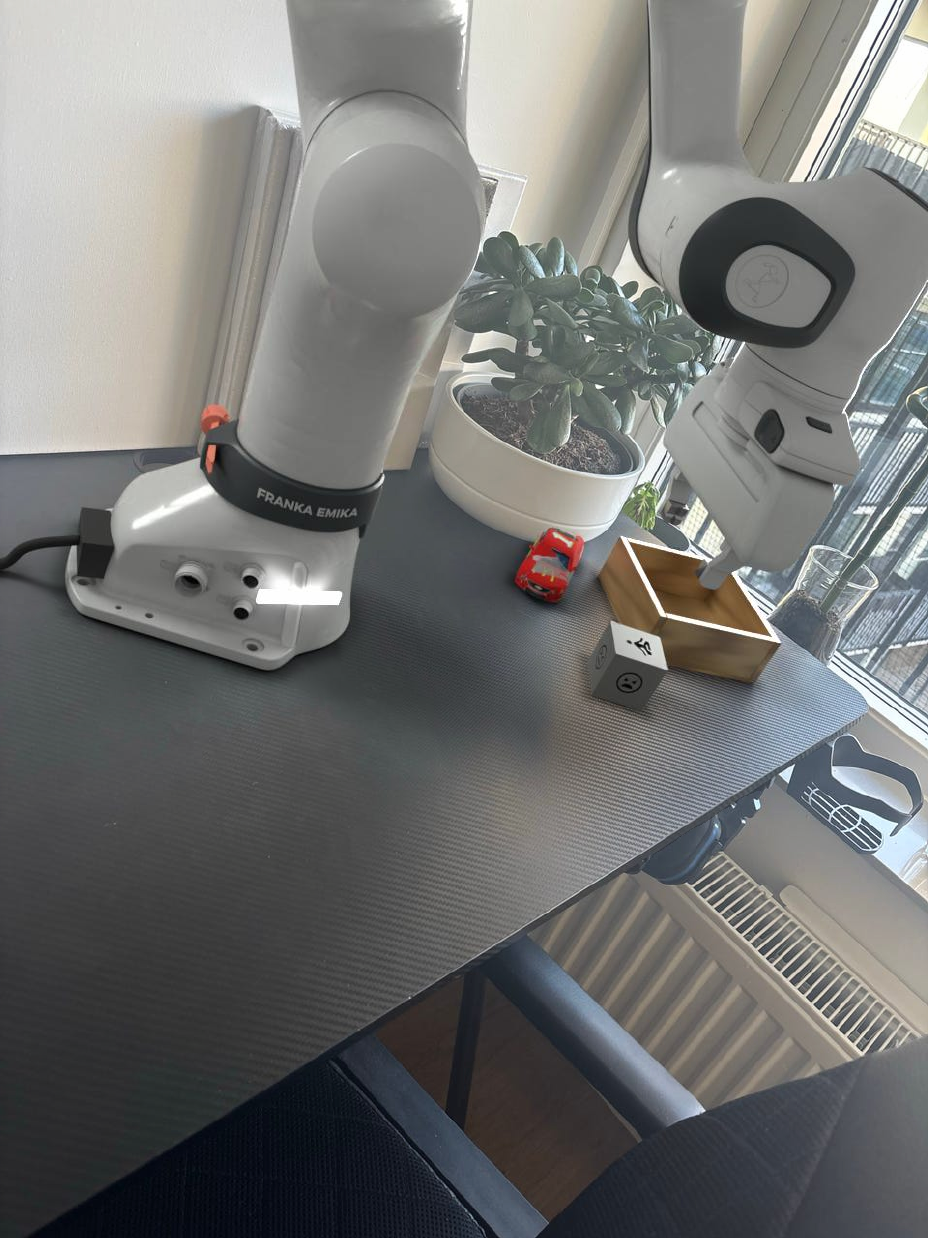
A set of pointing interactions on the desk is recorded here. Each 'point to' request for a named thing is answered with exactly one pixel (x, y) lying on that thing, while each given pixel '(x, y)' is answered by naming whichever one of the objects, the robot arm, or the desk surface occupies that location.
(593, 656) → the dice cube
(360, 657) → the desk surface
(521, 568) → the race car
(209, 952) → the desk surface
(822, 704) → the desk surface
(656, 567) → the crate
